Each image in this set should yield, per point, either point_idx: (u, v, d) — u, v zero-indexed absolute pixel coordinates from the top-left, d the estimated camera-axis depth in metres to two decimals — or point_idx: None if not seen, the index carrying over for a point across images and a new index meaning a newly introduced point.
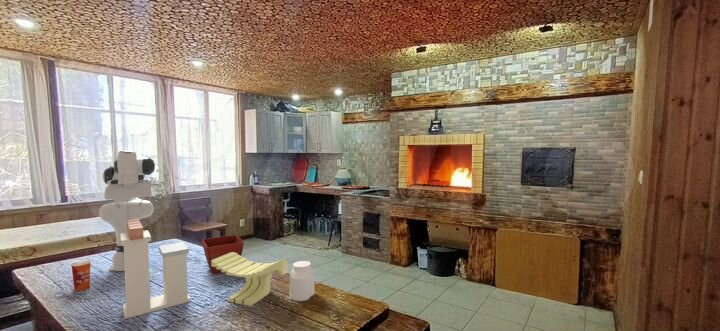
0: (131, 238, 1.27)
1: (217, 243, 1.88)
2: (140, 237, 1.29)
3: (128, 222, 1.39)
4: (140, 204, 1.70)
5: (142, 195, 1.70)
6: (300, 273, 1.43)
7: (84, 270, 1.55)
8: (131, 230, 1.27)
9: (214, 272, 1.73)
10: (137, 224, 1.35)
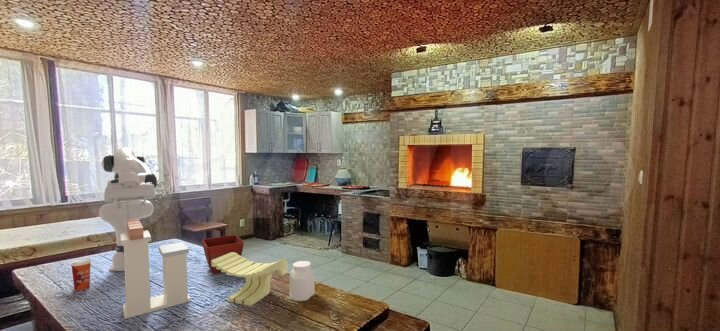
0: (131, 238, 1.27)
1: (217, 243, 1.88)
2: (140, 237, 1.29)
3: (128, 222, 1.39)
4: (143, 203, 1.56)
5: (144, 194, 1.58)
6: (300, 273, 1.43)
7: (84, 270, 1.55)
8: (131, 230, 1.27)
9: (214, 272, 1.73)
10: (137, 224, 1.35)
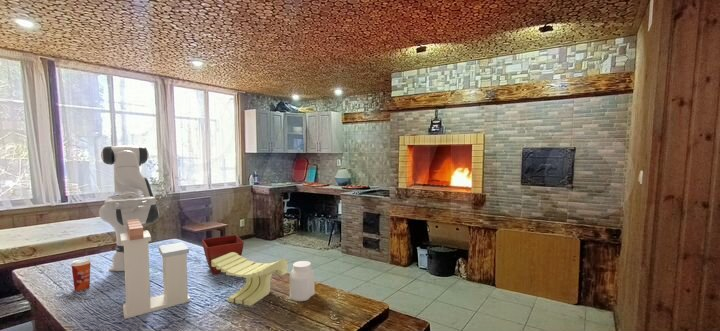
0: (131, 238, 1.27)
1: (217, 243, 1.88)
2: (140, 237, 1.29)
3: (128, 222, 1.39)
4: (144, 201, 1.52)
5: (145, 198, 1.56)
6: (300, 273, 1.43)
7: (84, 270, 1.55)
8: (131, 230, 1.27)
9: (214, 272, 1.73)
10: (137, 224, 1.35)
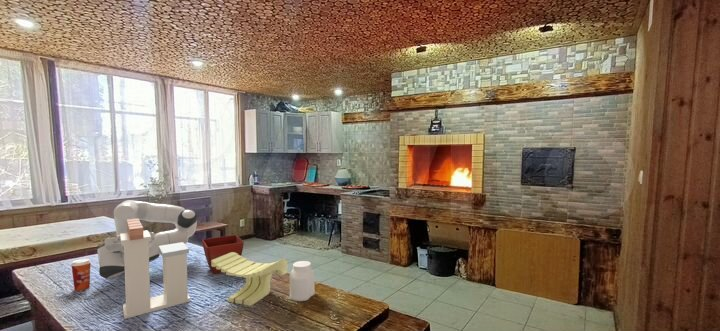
0: (131, 238, 1.27)
1: (217, 243, 1.88)
2: (140, 237, 1.29)
3: (128, 222, 1.39)
4: None
5: None
6: (300, 273, 1.43)
7: (84, 270, 1.55)
8: (131, 230, 1.27)
9: (214, 272, 1.73)
10: (137, 224, 1.35)
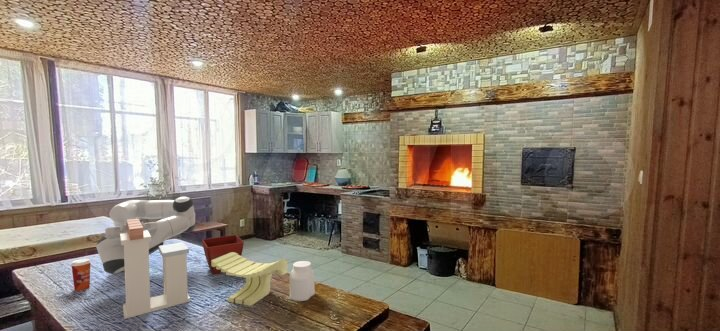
0: (131, 238, 1.27)
1: (217, 243, 1.88)
2: (140, 237, 1.29)
3: (128, 222, 1.39)
4: (124, 227, 1.43)
5: (117, 234, 1.44)
6: (300, 273, 1.43)
7: (84, 270, 1.55)
8: (131, 230, 1.27)
9: (214, 272, 1.73)
10: (137, 224, 1.35)
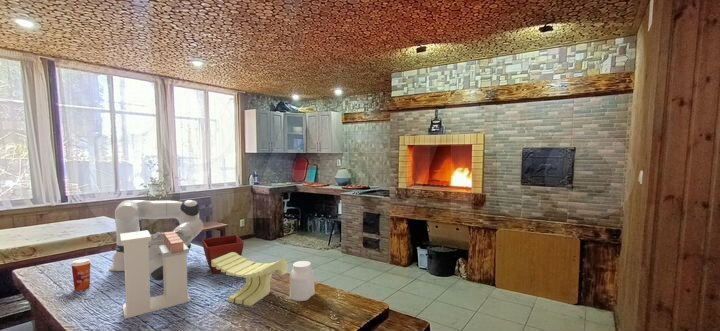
0: (173, 252, 1.34)
1: (217, 243, 1.88)
2: (180, 251, 1.36)
3: (166, 235, 1.47)
4: (157, 236, 1.49)
5: (154, 241, 1.51)
6: (300, 273, 1.43)
7: (84, 270, 1.55)
8: (173, 244, 1.34)
9: (214, 272, 1.73)
10: (176, 238, 1.43)
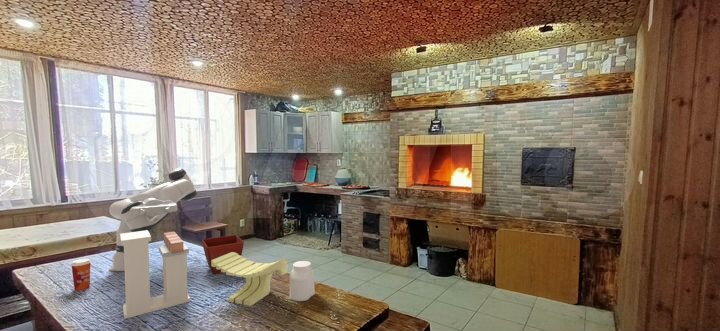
0: (173, 252, 1.34)
1: (217, 243, 1.88)
2: (180, 251, 1.36)
3: (166, 235, 1.47)
4: (144, 213, 1.56)
5: (141, 214, 1.59)
6: (300, 273, 1.43)
7: (84, 270, 1.55)
8: (173, 244, 1.34)
9: (214, 272, 1.73)
10: (176, 238, 1.43)
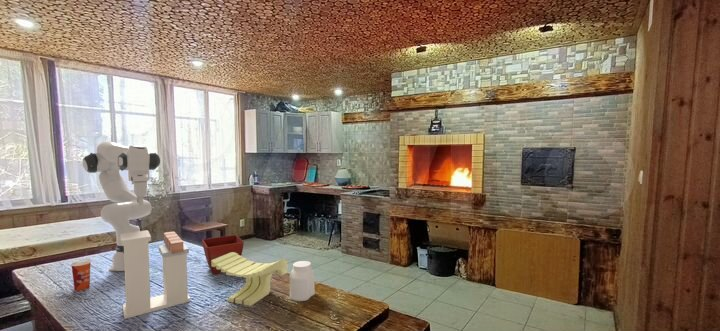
0: (173, 252, 1.34)
1: (217, 243, 1.88)
2: (180, 251, 1.36)
3: (166, 235, 1.47)
4: None
5: None
6: (300, 273, 1.43)
7: (84, 270, 1.55)
8: (173, 244, 1.34)
9: (214, 272, 1.73)
10: (176, 238, 1.43)
